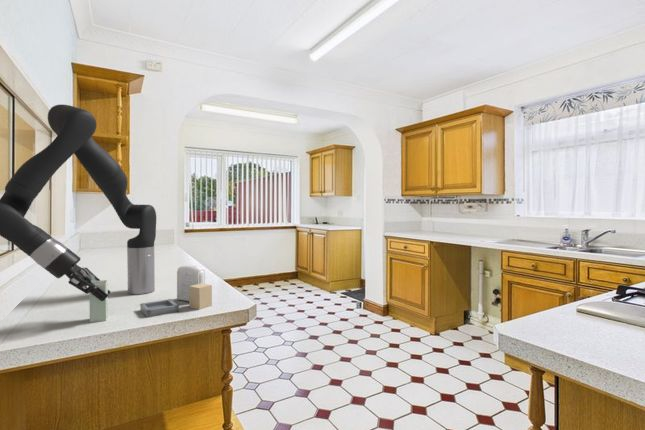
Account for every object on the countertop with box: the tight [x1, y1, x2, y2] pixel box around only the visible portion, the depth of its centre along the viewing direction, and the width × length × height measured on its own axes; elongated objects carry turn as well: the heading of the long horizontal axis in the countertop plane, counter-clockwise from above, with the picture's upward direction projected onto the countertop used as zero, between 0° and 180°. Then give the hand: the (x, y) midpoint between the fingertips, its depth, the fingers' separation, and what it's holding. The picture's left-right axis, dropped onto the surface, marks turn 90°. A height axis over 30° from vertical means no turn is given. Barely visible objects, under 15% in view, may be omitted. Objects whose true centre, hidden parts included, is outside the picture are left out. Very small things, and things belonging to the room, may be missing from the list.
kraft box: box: [188, 283, 213, 311], centre depth 118 cm, size 5×5×7 cm
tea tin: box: [88, 279, 109, 323], centre depth 105 cm, size 4×4×11 cm
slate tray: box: [140, 298, 180, 318], centre depth 113 cm, size 9×9×2 cm
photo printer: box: [176, 264, 206, 302], centre depth 125 cm, size 10×4×12 cm, turn 69°
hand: (106, 296), depth 105 cm, fingers closed on tea tin, 4 cm apart
